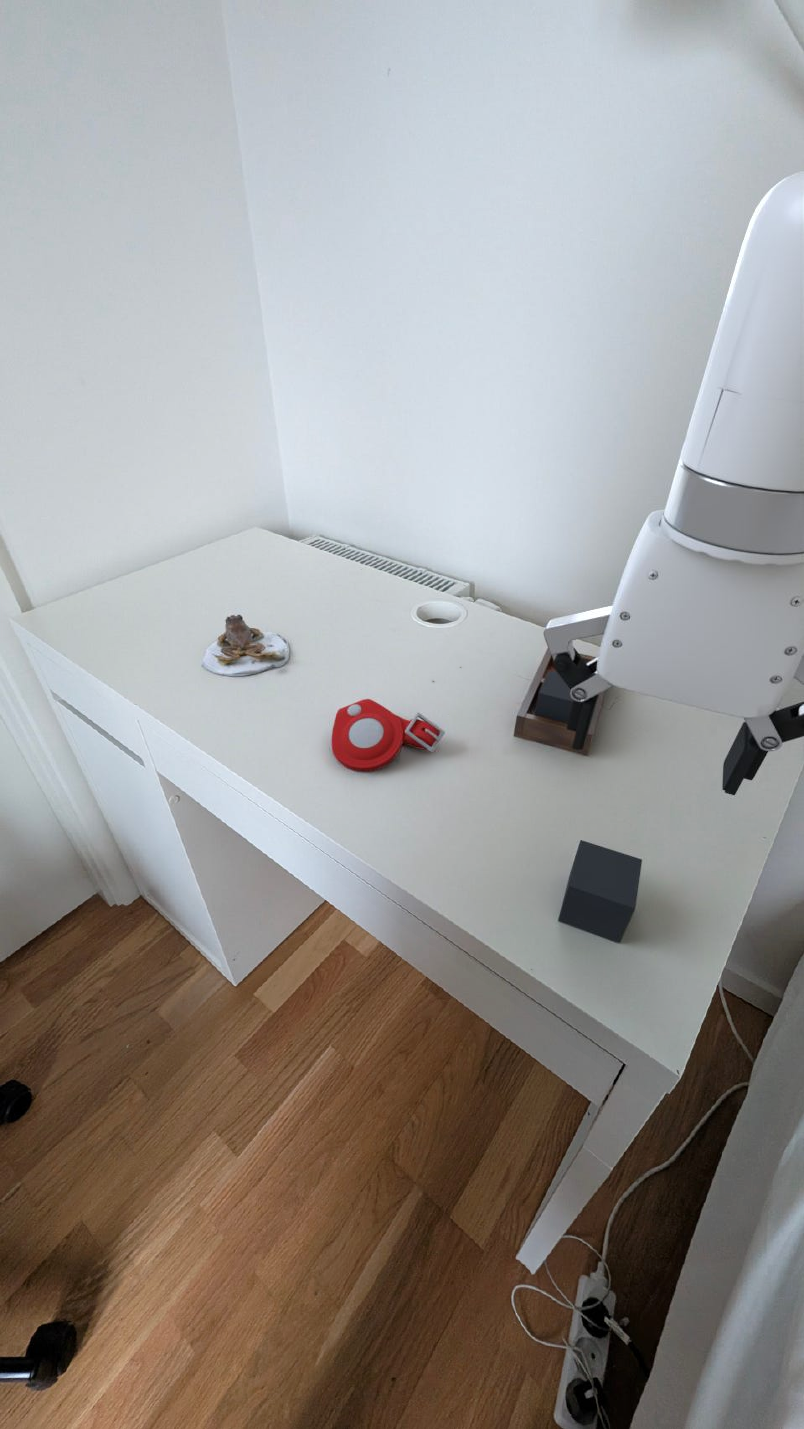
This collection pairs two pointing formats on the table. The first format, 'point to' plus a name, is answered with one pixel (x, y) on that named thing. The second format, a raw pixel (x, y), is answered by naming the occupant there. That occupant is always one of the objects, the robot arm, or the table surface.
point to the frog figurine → (245, 650)
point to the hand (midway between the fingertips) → (651, 758)
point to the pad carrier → (546, 728)
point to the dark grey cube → (554, 699)
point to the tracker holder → (377, 735)
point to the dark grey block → (601, 891)
